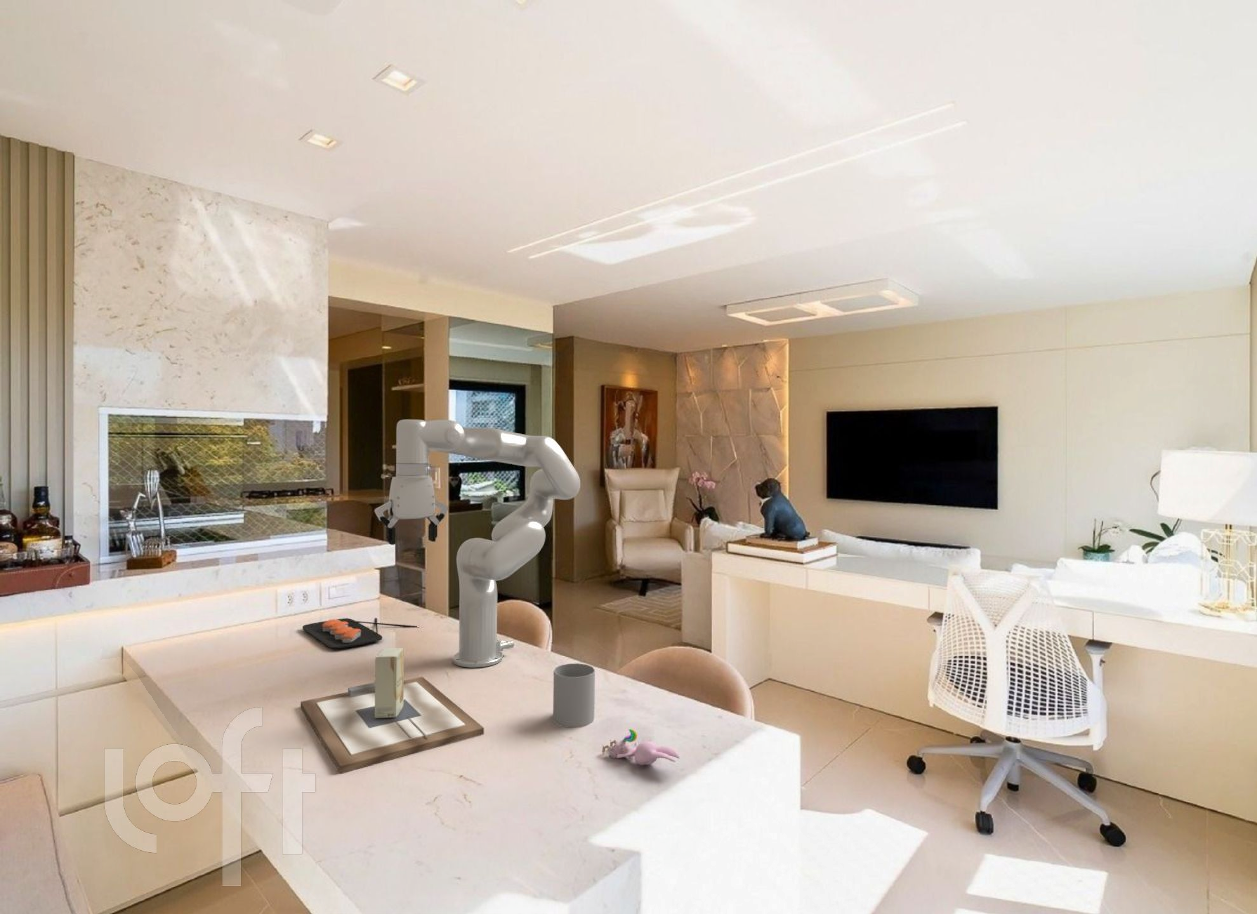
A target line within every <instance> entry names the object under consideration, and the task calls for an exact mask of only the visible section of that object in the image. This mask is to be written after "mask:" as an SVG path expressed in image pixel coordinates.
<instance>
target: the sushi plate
mask: <svg viewBox="0 0 1257 914" xmlns="http://www.w3.org/2000/svg"><path fill="white" fill-rule="evenodd" d="M374 620H375V621H374V622H371V621H370V622H369V621H360V620H354V619H352V618H348V617H346V618H345V617H343V618H338V619H337V618H336V619H335V618H334V619H328V620H326V621H318V622H312V623H307V624H304V625H303V626H302V630H304V631H305V632H306V633H308V634H309V635H310V636H311V637H313V638H315V639H316V640H318V641H319V642H321V644H324V645H325V646H326V647H328V648H329V649H330V648H331V649H335V650H336V649H345V648H351V647H356V646H361V645H367V644H370V643H375V642H379V641H381V640H382V639H383V636H382V635H381V634H380V633H379V632H378V631H379V630H378V629H379V628H378V625H382V626H391V627H401V628H418V627H417V626H418V625H410V624H409V625H408V624H397V623H385V622H378V618H377V617H375V618H374ZM364 624H370V625H371V624H372V625H375V631H374V630H372V629H371V628H370V627H367V626H365V625H364Z"/></svg>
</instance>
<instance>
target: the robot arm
mask: <svg viewBox="0 0 1257 914" xmlns="http://www.w3.org/2000/svg"><path fill="white" fill-rule="evenodd" d="M395 446H396V447H395V448H396V449H395V452H396V453H395V456H396V457H395V458H396V459H395V461H396V464H395V466H396V467H395V471H396V472H395V476H392V479H391V482H390V489H389V496H388V497H389V498H388V501H387V502H386V503H383V504H382V505H379V507H376V508H374V513H375V515H376V517H377V519H378V521H379V522H380V523H381V524H383V525H384V526H385V528H386V532H385V535H386V538H385V539H386V542H387V543H388V544H389V545H391V546H395V545H396V528H395V527H394V526H395V525H396V523H397V522H398V521H399V520H412V519H413V520H415V519H416V520H417V519H427V520H428V521H429V524H428V528H427V529H428V531H427V532H428V534H427V535H428V536H427V537H428V541H430V542H434V543H435V542H436V539H437V538H438V525H440V523H441V521H442V520H443V519H445V516H446V514H447V511H448V510H449V506H448V505H446V504H444V503H442V502H440V501H438V500H436V496H435V488H434V487H435V486H434V483H433V482H434V481H433V477H432V476H430V475H431V473H433V472H436V468H435V466H432V465H431V464H430V451H432V452H439V453H445V454H449V455H451V454H452V455H458V456H464V457H468V458H469V457H470V458H474V459H476V460H477V459H478V460H483V461H484V460H485V461H491V462H497V463H503V464H509V465H511V464H512V465H515V466H523V467H530V468H532V467H533V468H540V469H538V470H537V471H535V472H534V473H533V475H532V476H531V479H530V482H529V493H528V497H527V500H526V501H525V502H524V503H523V504H522V505H520V507H518V508H516V510H513V511H512V512H511V513H509V514H508V515H507V516H505V517H504V518H503V519H501V520H500V521H498V522H497V523H496V524H495V526H494V527H493V528H492V531H491V539H486V538H482V537H474V538H469V539H467V540H465V541H464V542H463V543H462V544H461V545H460V546H459V548H458V550H457V553H456V568H457V575H458V580H459V581H458V583H459V609H458V610H459V624H458V625H459V626H458V627H459V630H458V638H459V639H458V652H457V653H455V654H454V655H453V656H452V662H453V664H454V665H456V666H459V667H464V668H484V667H489V666H493V665H496V664H498V663H500V662H501V661H502V660H503V653H502V652H503V651H504V650H505V649H506V650H508V649H513V648H515V647H514V646H515V643H514V641H513V640H508V641H506V640H505V639H501V640H498V638H497V636H498V635H497V634H498V631H497V629H498V586H497V582H496V581H502V580H504V579H507V578H508V577H510V576H511V575H513V574H514V573H515V572H516V571H518V570H519V569H520V568H521V567H523V566H524V565H525V564H527V563H528V562H530V561H531V560H532V559H533V558H534V557H536V555H538V554H539V553H540V551H542V550H541V549H542V548H543V547H544V544H545V541H546V531H545V528H544V527H545V526H547V524H548V523H549V522H550V520H551V518H552V515H553V509H554V500H572V499H573V498H576V496H577V495H578V494H579V492H580V490H581V489H580V488H581V478H580V476H579V473H578V472H577V470H576V468H575V467H574V465H573V464H572V462H571V461H570V460H569V457H568V456H567V454H566V453H565V452H564V450H563V448H562V447H561V446H560V445H559V444H558V442H557V441H556V440H555V439H554V438H552V437H551V436H548V435H528V434H522V433H517V432H512V431H507V430H504V429H498V428H495V427H494V428H493V427H467V426H466V427H465V426H462V425H460V424H459V423H458V422H457V421H455V420H451V419H435V420H427V421H426V420H423V419H401V420H399V421H398V422H397V423H396V445H395ZM436 508H439V512H438V513H437V514H436ZM385 511H388V512H387V513H388V518H387V517H386V516H385V515H384V512H385ZM435 514H436V515H435Z"/></svg>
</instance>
